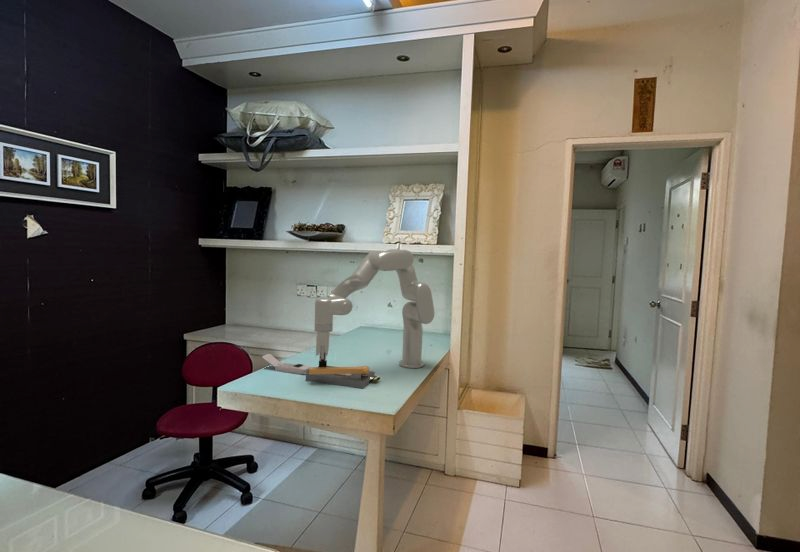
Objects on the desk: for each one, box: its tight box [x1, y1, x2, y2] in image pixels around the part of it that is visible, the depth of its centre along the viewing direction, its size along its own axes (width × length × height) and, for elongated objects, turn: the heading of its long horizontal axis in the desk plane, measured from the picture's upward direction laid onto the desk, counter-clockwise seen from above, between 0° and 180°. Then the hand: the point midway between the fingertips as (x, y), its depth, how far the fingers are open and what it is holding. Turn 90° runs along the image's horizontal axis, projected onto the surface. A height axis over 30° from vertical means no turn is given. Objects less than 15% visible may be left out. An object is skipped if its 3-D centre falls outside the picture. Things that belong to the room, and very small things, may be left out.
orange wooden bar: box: [309, 365, 370, 374], centre depth 169 cm, size 4×25×2 cm, turn 100°
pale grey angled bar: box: [261, 353, 311, 376], centre depth 183 cm, size 6×6×25 cm
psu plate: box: [305, 365, 376, 390], centre depth 174 cm, size 14×26×4 cm, turn 74°
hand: (322, 369), depth 171 cm, fingers closed
